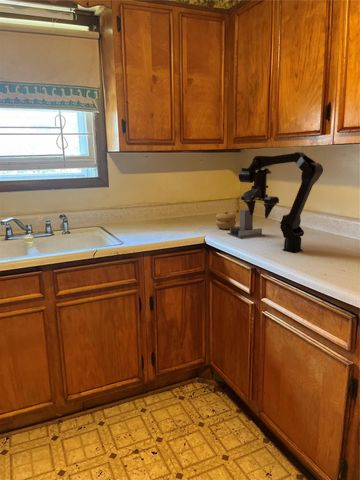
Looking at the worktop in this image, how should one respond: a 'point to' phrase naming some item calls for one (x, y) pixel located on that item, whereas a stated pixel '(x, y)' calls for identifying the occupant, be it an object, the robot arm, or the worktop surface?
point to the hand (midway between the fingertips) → (258, 216)
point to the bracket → (245, 233)
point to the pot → (225, 220)
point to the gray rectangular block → (245, 220)
